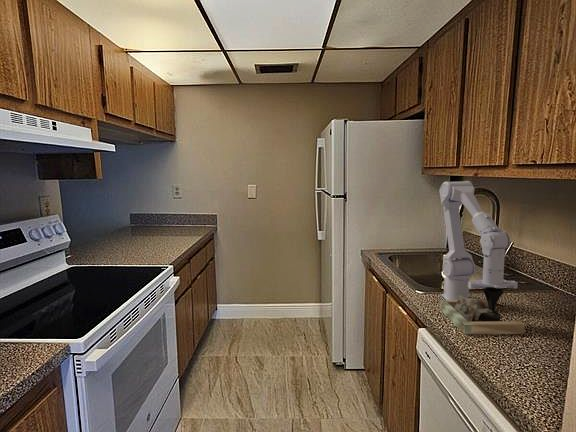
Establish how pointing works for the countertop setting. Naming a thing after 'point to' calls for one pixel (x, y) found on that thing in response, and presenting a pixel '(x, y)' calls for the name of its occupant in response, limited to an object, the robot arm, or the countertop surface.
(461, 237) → the robot arm
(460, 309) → the caster wheel
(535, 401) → the countertop surface
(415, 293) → the countertop surface
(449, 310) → the frame
